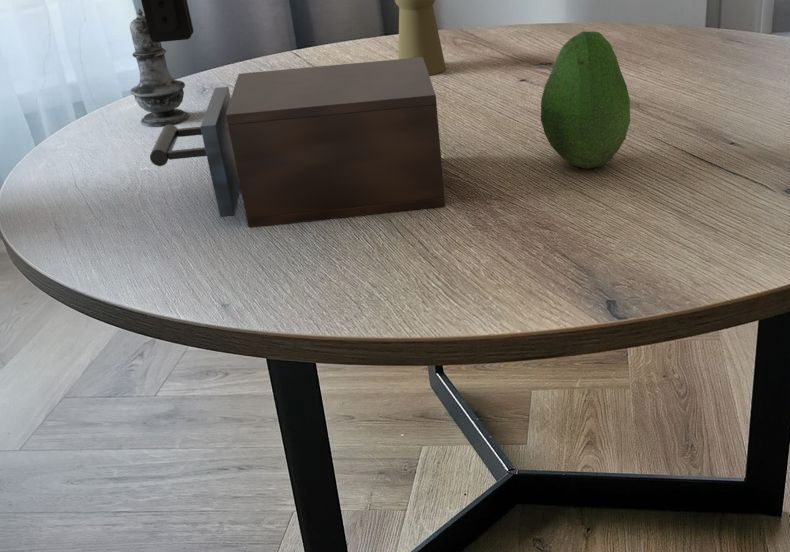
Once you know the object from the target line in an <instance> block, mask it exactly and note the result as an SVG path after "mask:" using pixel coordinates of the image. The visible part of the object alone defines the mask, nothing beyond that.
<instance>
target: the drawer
mask: <svg viewBox="0 0 790 552" xmlns="http://www.w3.org/2000/svg"><path fill="white" fill-rule="evenodd" d="M230 100H231V92H230V86H220V87H219V86H218V87H214V90H213V92H212V94H211V97H210V100H209V103H208V105H207V107H206V111H205V113H204V116H203V118H202V121H201V124H200V126H192V127H191V126H190V127H181V128H178V127H177V126H175V124H172V125H171V124H169V125H166V126H163V127H162V129H161V131H160V133H159V135H158V138H157V140H156V142H155V144H154V146H153V148H152V150H151V152H150V154H149V160H150V162H151V163H152V164H153V165H154V166H156V167H157V166H158V167H163V166H165V165H166V164H167V163H168V161H169V160H170V161H171V160H180V159H181V160H182V159H191V158H200V157H201V158H202V157H206V160H207V164H208V169H209V174H210V177H211V182H212V188H213V192H214V196H215V201H216V206H217V210H218V215H219V218H228V217H235V215H236V210H237V205H238V201H239V197H240V193H241V189H240V184H239V179H238V174H237V169H236V164H235V159H234V154H233V149H232V144H231V140H230V135H229V130H228V124H227V120H226V112H227V109H228V106H229V103H230ZM194 136H195V137H196V136H202V141H203V146H204V147H194V148H193V147H192V148H185V149H183V148H182V149H174V147H175V145H176V143H177V140H178V138H184V137H194Z"/></svg>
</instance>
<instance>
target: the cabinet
mask: <svg viewBox="0 0 790 552" xmlns="http://www.w3.org/2000/svg"><path fill="white" fill-rule="evenodd" d="M430 77H431V76H429V74H428V71H427V68H426V65H425V62H424V59H423V57H418V58H407V59H398V58H397V59H388V60H387V59H386V60H377V61H364V62H352V63H341V64H329V65H320V66H319V65H318V66H309V67H299V68H298V67H297V68H287V69H286V68H285V69H276V70H265V71H264V70H263V71H256V72H255V71H254V72H242V73H238V74H237V77H236V81H235V84H234V87H233V91H232V93H231V95H230V97H231V100H230V103H229V106H228V109H227V112H226V120H227V124H228V130H229V135H230V140H231V144H232V149H233V154H234V159H235V164H236V169H237V174H238V179H239V184H240V193H241V198H242V203H243V208H244V214H245V217H246V223H247V227H248V228H255V227H256V228H257V227H265V226H273V225H284V224H292V223H294V224H295V223H303V222H311V221H322V220H331V219H340V218H349V217H359V216H367V215H377V214H385V213H396V212H405V211H413V210H414V211H415V210H422V209H425V210H426V209H433V208H443V207H444V208H445V207H446V198H445V186H444V184H445V183H444V175H443V174H444V173H443V161H442V153H441V152H442V150H441V138H440V127H439V115H438V107H437V105H438V103H437V95H436V92H435V90H434V87H433V83H432V80H431V78H430Z"/></svg>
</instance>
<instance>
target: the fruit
mask: <svg viewBox="0 0 790 552" xmlns="http://www.w3.org/2000/svg"><path fill="white" fill-rule="evenodd" d="M543 87H544V88H543V92H542V96H541V99H540V104H541V105H540V121H541V126H542V129H543V133H544V135H545V138H546V139H547V142H548V143H549V145H550V147H551V148H552V149H553V150H554V151H555V152H556V153H557V154H558V155H559V156H560V157H561V158H562V159H563V160H564V161H567V162H568V163H569V164H571V165H572V166H574V167H579V168H582V169H586V170H588V169H594V168H595V169H596V168H599V167H600V168H601V167H602V166H604V165H605V164H607V163H608V162H609V161H611V160H612V159H613V158H614V157H615V155H616V153H617V152H618V151H619V150H620V148H621V147H622V145H623V144H624V142H625V140H626V137H627V134H628V131H629V127H630V123H631V99H630V98H631V97H630V94H629V91H628V86H627V83H626V81H625V78H624V75H623V73H622V71H621V67H620V64H619V62H618V58H617V56H616V53H615V51H614V49H613V46H612V44H611V43H610V41H608V40H607V39H606V38H605V36H604V35H602V33H600V32H599V31H585V30H583V31H579V32H578V33H577V34H576V35H574V36H572V37H570V38H569V39H568V40H567V42H565V44H564V45H562V47H561V49H560V51H559V52H558V55H557V57H556V58H555V60H554V64H553V67H552V70H551V72H550V74H549V76H548V79H547V80H546V82H545V84H544V86H543Z"/></svg>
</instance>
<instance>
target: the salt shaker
mask: <svg viewBox="0 0 790 552" xmlns="http://www.w3.org/2000/svg"><path fill="white" fill-rule="evenodd" d="M136 11H137V12H136V14H137V16H136V18H135V19H133V20H132V21H131V22H130V23H129V31H130V35H131V40H132V43H133V49H134V52H132V57H133V58H135V59H136V63H137V67H138V70H139V82H138V84H137V85H135V86H134V87H132V88H131V89H130V91H129V93H130V94H131V96H133V97H134V100H135V102H136V103H137V105H138V106H139V107H140V108H141V109H142V110H144V111H146V112H149V113H147V114H145V115H144V116H143V117H142V118H141V119H140V124H141V125H142V126H145V127H151V128H152V127H164V126H166V125H169V124H171V125H176V124H179V123H182V122H185V121H186V120H187V119H189V118H190V114H189V112H187V111H185V110H182V109H179V107H180V105H181V104H182V103H183V100H184V95H185V91H184V89H185V87H186V83H185V82H184V81H182V80H178V79H175V78H173V77H172V75H171V73H170V71H169V70H168V69H169V68H168V66H167V60H166V56H165V55H166V53H167V49H166V48H163V46H162V42H153V41H152V40H151V39H150V35H149V31H148V27H147V23H146V18H145V15H144V11H142V9H141V8H137V10H136Z"/></svg>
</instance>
